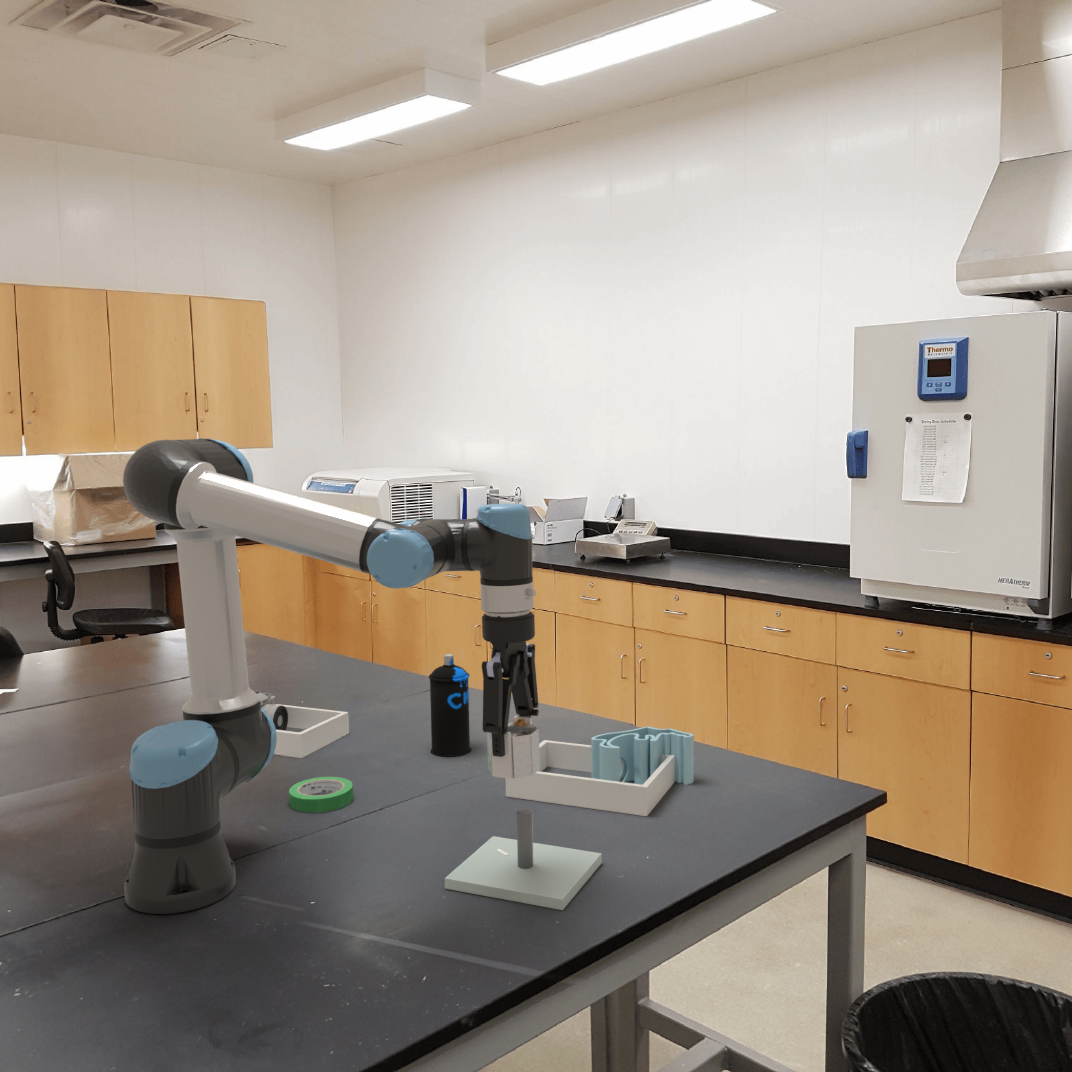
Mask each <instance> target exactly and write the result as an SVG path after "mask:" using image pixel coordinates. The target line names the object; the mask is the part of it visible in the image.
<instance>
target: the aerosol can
mask: <svg viewBox="0 0 1072 1072" xmlns="http://www.w3.org/2000/svg"><path fill="white" fill-rule="evenodd" d="M454 658H455V657H454V654H453V653H447V654H443V664H442V665H441V666H438V667H436V668H434V670H433V671H432V672H431V673H430V674H429V675H428V679H429V690H430V691H429V692H430V693H429V694H430V695H429V696H430V699H429V700H430V727H431V729H430V730H431V731H430V733H431V735H430V736H431V737H430V738H431V748H430V754H431V755H433V756H436V757H440V758H457V757H458V758H459V757H463V756H466V755H467V754H469V753H471V752H472V748H471V746H470V745H471V743H470V741H471V740H470V738H471V737H470V735H471V734H470V700H469V699H470V697H469V696H470V695H469V694H470V692H469V679H470V676H471V675H470V674H469V672H467V671H466V670H465V669H464V668H463V667H462V666H459V665H456V664H455V663H454Z"/></svg>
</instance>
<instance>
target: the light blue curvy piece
mask: <svg viewBox="0 0 1072 1072" xmlns="http://www.w3.org/2000/svg"><path fill="white" fill-rule="evenodd" d="M694 739H695V736H694V734H693V733H690V732H686V731H685V732H684V731H680V730H678V729H675V728H672V727H671V728H656V727H653V726H649V725H648V726H644V727H639V728H635V729H630V730H629V729H628V730H623V731H615V732H607V733H602V734H599V735H595V736H592V737H591V739H590V741H591V743H590V745H591V762H592V773H591V778H594V779H602V780H609V781H617V782H625V783H628V782H631V781H633V782H634V783H633V784H641V785H643V784H644V783H645V782H646V781H647V779H648V778H649V777H650V776H651V775H652V774H653V773H654V772H655V771H656V769H657V768H658V767H659V766H660V765H661V755H662V754H664V755H669V754H670V755H675V782H676V783H678V784H683V785H685V786H687V785H692V784H693V783H694V782H695V777H694V776H695V772H694V771H695V769H694V768H695V767H694V766H695V765H694V764H695V758H694V757H695V754H694V753H695V750H694V748H695V740H694ZM620 759H621V761H622V771H621V773H620ZM620 780H621V781H620Z"/></svg>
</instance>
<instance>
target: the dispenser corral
mask: <svg viewBox="0 0 1072 1072" xmlns="http://www.w3.org/2000/svg"><path fill="white" fill-rule="evenodd" d="M539 752H540V770H539V771H537V772H536V773H535V774H534V775H532V776H526V777H521V778H515V779H514V778H513V779H511V778H510V779H509V778H504V779H505V797H507V798H514V799H521V800H527V801H534V802H542V803H549V804H550V803H551V804H558V805H564V806H571V807H577V808H585V809H590V810H591V809H593V810H600V811H606V812H613V813H621V814H628V815H634V816H635V815H636V816H641V817H648V816H649V814H650V813H651V812H652V811H653V810H654V808H655V807H656V806H657V804H659V802H660V801H661V800H662V799H663V797H664V796H665V795H666V793H667V792H668V791H669V790H670V788H672V786H673V785H674V784H675V782H676V781H675V755H670V754H669V755H664V754H662V755H661V765H660V766H659V767H658V768H657V769H656V771H655V772H654V773H653V774H652V775H651V776H650V777H649V778H648V779H647V781H646V782H645V783H644V784H643V785H641V784H634V783H632V782H622V781H620V782H617V781H609V780H602V779H594V778H592V777H586V776H585V777H584V776H576V775H570V774H563V773H555V772H554V773H553V772H546V771H544V770H546V768H553V769H554V768H555V769H562V770H570V771H578V772H585V773H590V774H592V762H591V744H590V745H589V744H582V743H581V744H580V743H575V742H574V743H573V742H563V741H554V740H548V739H544V740H542V741H541V742H539ZM621 771H622V761H621V759H620V773H621Z"/></svg>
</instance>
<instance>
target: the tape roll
mask: <svg viewBox="0 0 1072 1072" xmlns="http://www.w3.org/2000/svg"><path fill="white" fill-rule="evenodd" d="M318 793H319V794H318ZM321 793H322V794H321ZM323 793H325V794H323ZM326 793H327V794H326ZM317 794H318V795H317ZM288 798H289V799H288V801H289V806H290V807H291V808H292V809H294V811H298V812H302V813H309V814H310V813H313V814H314V813H315V814H317V813H327V812H331V811H336V810H339V809H343V808H345V807H347V806H348V805H350V804H351V803H352V802H353V801H354V786H353V782H352V781H351V780H349V779H347V778H343V777H339V776H338V777H337V776H320V777H319V776H318V777H313V778H312V777H311V778H307V779H305V780H302V781H299V782H297V783H295V784H293V785H292V786H291V787H290V788H289V790H288Z"/></svg>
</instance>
